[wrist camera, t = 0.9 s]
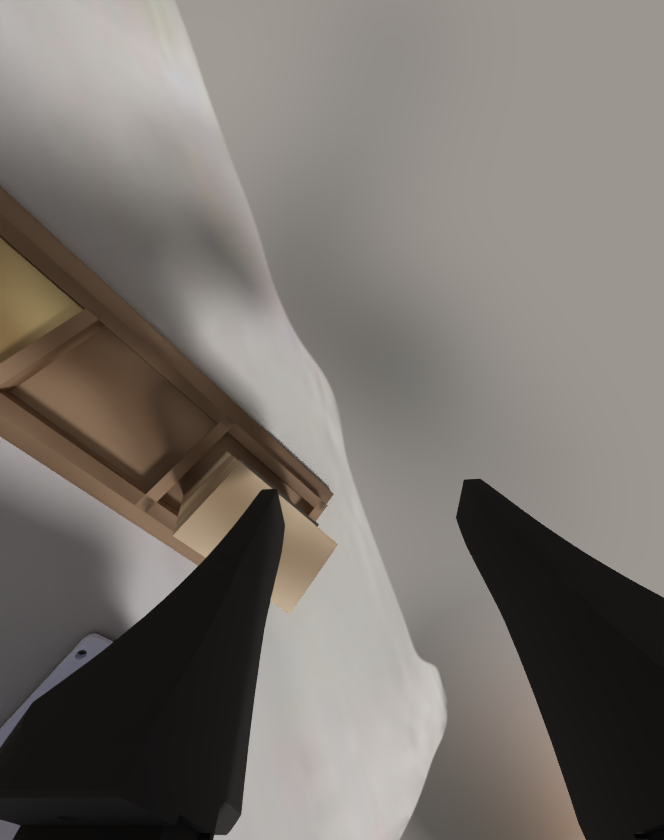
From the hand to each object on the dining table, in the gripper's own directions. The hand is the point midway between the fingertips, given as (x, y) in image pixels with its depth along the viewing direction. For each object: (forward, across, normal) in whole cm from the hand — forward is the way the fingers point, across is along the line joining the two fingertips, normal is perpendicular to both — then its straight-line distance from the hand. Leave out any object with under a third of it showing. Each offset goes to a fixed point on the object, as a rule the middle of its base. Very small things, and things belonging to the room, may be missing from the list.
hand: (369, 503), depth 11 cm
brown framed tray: (+8, +15, -1) cm, 17 cm away
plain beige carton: (+7, +9, +6) cm, 13 cm away
